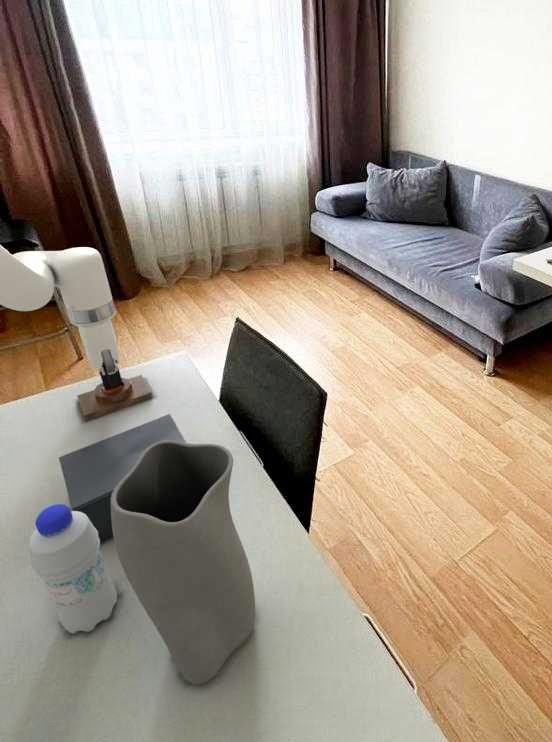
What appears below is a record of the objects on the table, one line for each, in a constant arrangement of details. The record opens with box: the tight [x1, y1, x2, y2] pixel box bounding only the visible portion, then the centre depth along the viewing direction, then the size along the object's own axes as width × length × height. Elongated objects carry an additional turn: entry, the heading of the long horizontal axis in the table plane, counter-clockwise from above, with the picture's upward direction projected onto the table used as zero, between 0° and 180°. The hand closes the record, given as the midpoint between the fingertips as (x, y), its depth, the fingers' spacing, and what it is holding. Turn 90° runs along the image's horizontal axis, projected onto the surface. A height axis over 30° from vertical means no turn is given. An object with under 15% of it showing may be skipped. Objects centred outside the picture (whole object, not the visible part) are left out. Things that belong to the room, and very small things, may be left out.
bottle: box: [28, 503, 118, 634], centre depth 63 cm, size 7×7×20 cm
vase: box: [111, 440, 257, 686], centre depth 59 cm, size 12×12×30 cm
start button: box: [102, 385, 123, 393], centre depth 104 cm, size 4×4×2 cm
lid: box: [58, 413, 187, 511], centre depth 80 cm, size 16×13×1 cm
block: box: [76, 374, 153, 422], centre depth 105 cm, size 12×8×4 cm, turn 132°
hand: (113, 385), depth 104 cm, fingers closed
